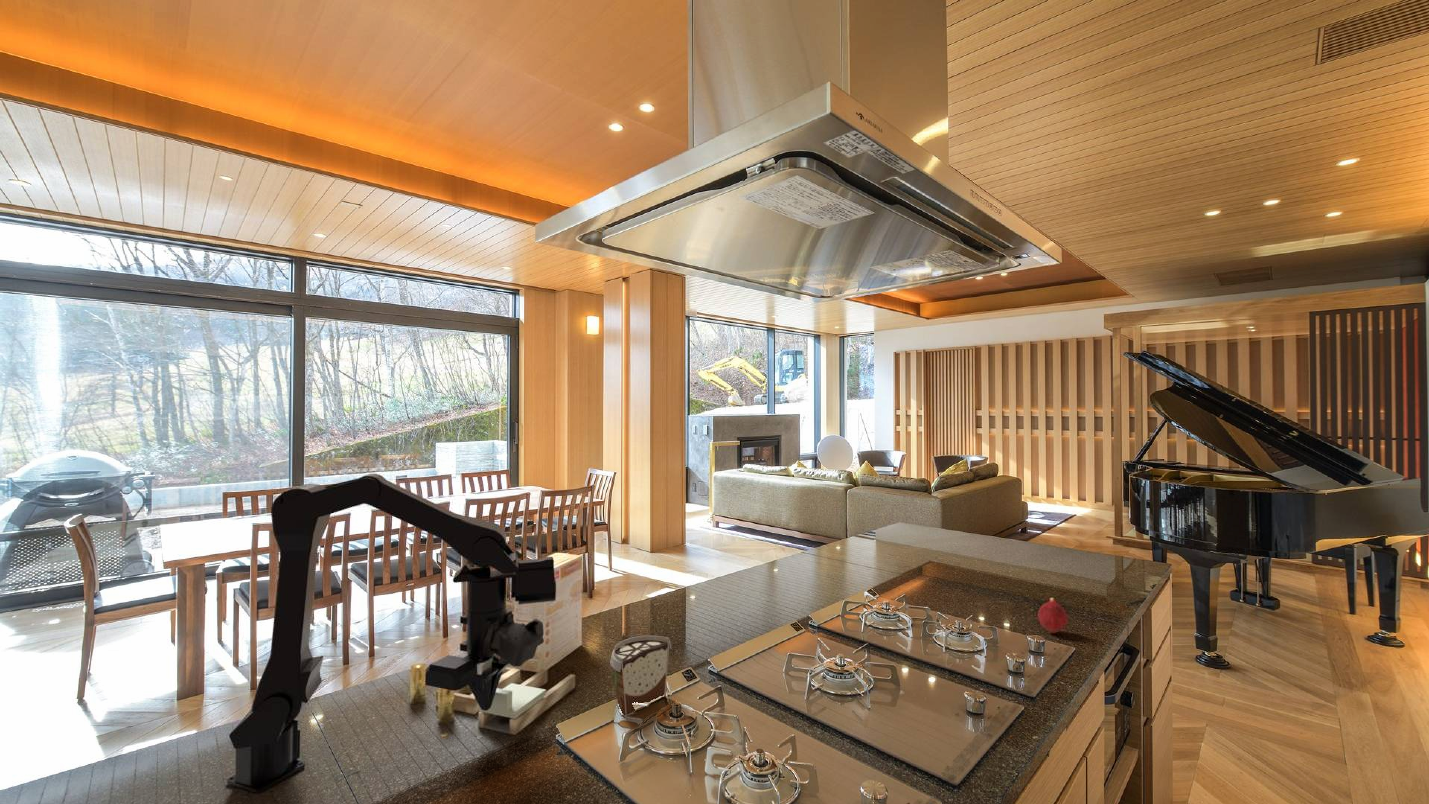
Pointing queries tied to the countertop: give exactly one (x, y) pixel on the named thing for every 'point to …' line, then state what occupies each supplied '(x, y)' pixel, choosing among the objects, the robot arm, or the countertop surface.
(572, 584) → the coffeecake box
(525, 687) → the lid
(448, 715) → the pin
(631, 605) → the countertop surface
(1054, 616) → the onion
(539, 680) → the housing
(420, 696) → the pin
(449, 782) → the countertop surface
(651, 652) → the food container
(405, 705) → the countertop surface
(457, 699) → the socket board
